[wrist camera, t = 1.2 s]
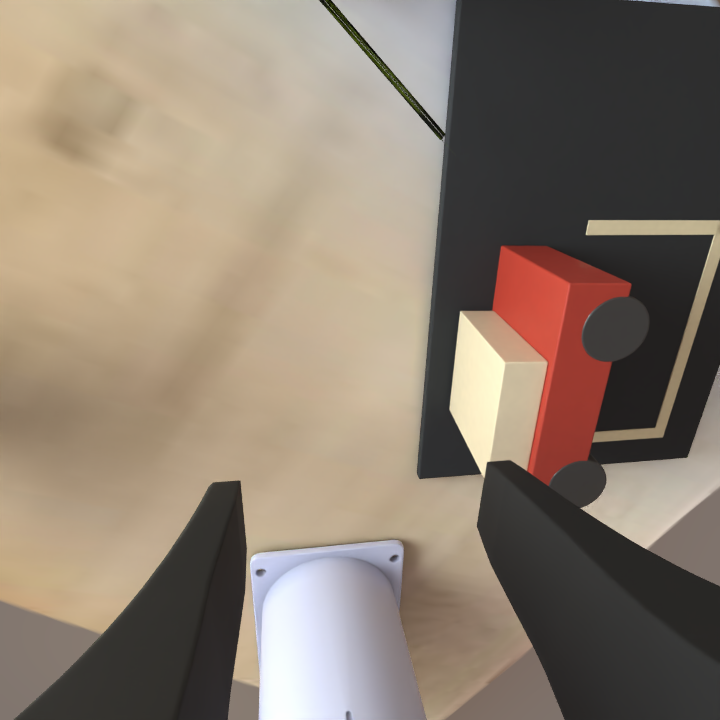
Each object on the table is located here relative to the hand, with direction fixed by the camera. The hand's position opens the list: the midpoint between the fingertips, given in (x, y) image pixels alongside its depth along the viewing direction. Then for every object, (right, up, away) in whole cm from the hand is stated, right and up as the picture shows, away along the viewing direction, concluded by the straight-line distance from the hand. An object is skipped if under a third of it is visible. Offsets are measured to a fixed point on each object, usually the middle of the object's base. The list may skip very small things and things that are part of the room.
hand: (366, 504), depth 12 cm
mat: (+10, +7, +10) cm, 16 cm away
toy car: (+6, +4, +10) cm, 13 cm away
